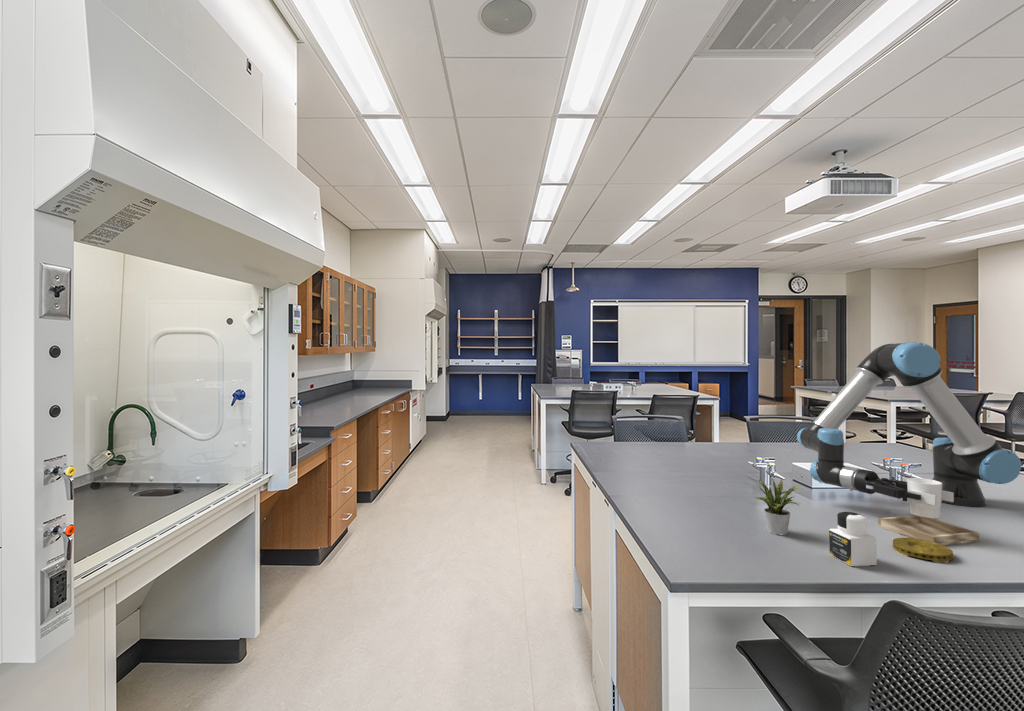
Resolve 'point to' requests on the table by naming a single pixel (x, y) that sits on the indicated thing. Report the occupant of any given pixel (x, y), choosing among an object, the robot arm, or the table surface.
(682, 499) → the table surface
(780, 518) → the house plant
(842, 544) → the medicine bottle
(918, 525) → the tray
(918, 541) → the gold notched disc
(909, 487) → the white cup
